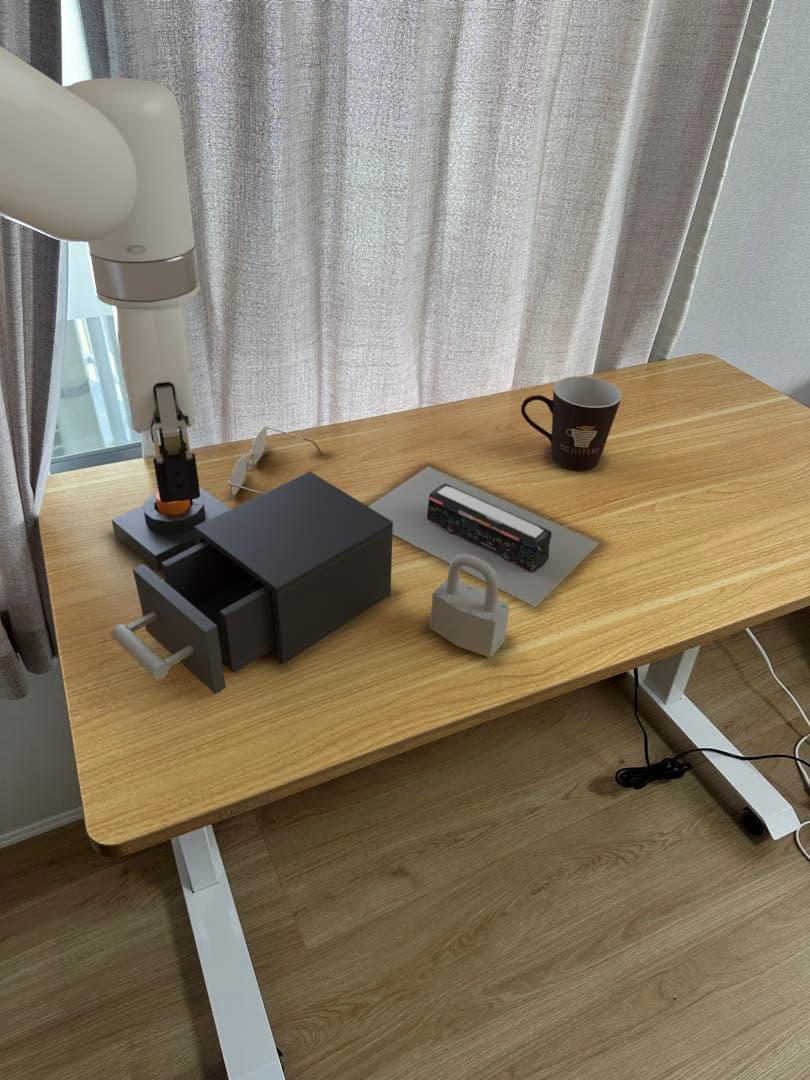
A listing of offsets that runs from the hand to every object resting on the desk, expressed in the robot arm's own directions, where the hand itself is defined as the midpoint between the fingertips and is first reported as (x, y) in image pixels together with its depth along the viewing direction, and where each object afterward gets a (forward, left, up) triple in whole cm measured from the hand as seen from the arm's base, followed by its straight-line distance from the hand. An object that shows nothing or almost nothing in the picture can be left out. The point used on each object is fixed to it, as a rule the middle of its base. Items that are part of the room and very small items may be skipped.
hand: (175, 468), depth 70 cm
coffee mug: (+33, +43, -19) cm, 58 cm away
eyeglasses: (-2, +27, -19) cm, 33 cm away
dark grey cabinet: (+8, +6, -18) cm, 21 cm away
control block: (-9, +13, -18) cm, 24 cm away
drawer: (+3, -2, -17) cm, 18 cm away
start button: (-9, +13, -15) cm, 21 cm away
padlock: (+26, +5, -19) cm, 33 cm away
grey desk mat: (+24, +23, -19) cm, 38 cm away
